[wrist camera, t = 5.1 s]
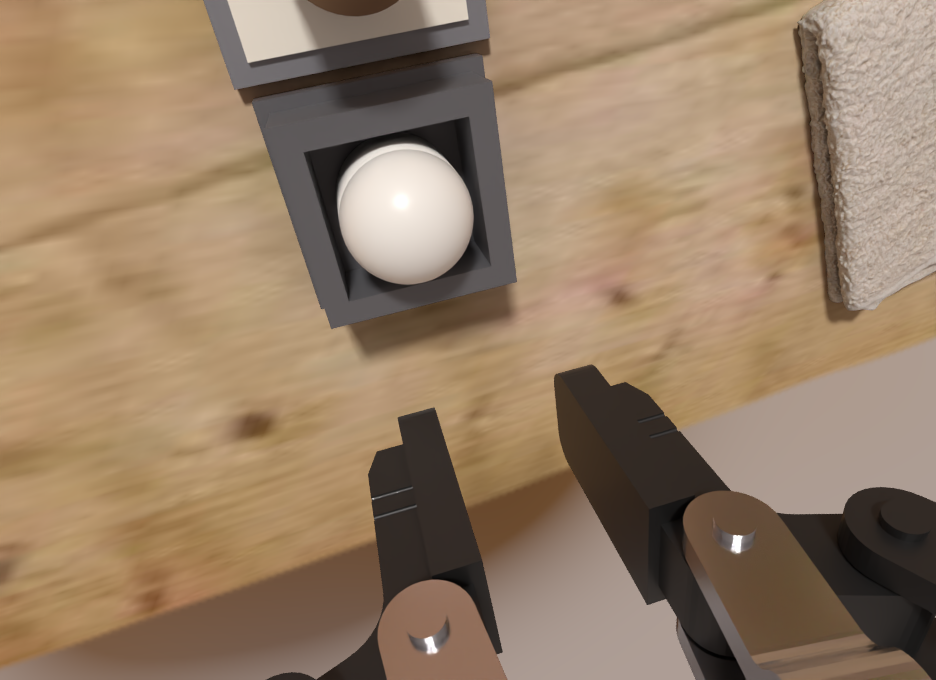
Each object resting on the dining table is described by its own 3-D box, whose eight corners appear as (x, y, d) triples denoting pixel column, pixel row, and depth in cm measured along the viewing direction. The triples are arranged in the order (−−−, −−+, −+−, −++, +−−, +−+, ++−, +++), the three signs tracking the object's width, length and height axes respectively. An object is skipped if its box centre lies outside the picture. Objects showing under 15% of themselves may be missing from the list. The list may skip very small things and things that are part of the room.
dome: (353, 262, 25) (363, 322, 21) (320, 147, 23) (323, 186, 18) (463, 236, 26) (497, 288, 21) (443, 120, 23) (477, 151, 19)
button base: (320, 299, 27) (322, 342, 24) (253, 98, 23) (244, 116, 19) (503, 254, 28) (529, 289, 25) (475, 53, 24) (503, 62, 20)
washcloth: (822, 308, 36) (862, 333, 33) (777, 13, 26) (829, 15, 24) (998, 211, 35) (1052, 228, 33) (1020, -130, 26) (1100, -144, 23)
